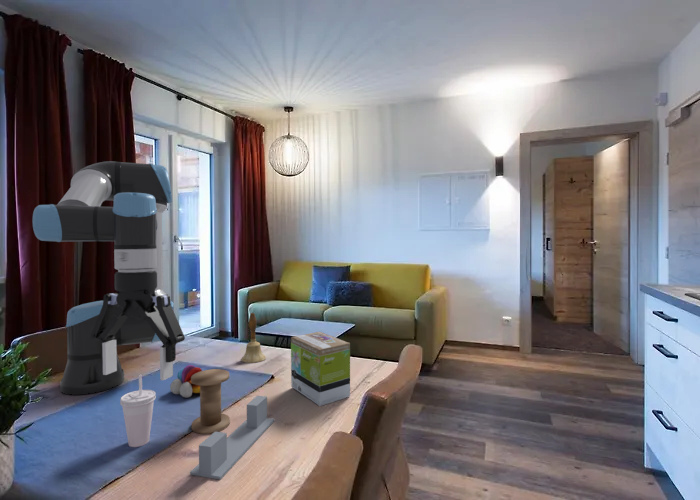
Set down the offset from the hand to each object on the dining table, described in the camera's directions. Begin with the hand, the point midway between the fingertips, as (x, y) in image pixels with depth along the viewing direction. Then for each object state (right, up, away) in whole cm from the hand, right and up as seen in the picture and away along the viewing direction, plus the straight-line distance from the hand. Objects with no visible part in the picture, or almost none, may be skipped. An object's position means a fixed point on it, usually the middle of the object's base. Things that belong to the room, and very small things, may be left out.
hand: (137, 375), depth 79 cm
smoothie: (0, -14, +1) cm, 14 cm away
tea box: (+35, -13, +26) cm, 46 cm away
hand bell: (+10, -12, +55) cm, 57 cm away
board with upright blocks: (+20, -14, 0) cm, 25 cm away
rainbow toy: (0, -13, +27) cm, 30 cm away
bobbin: (+12, -14, +8) cm, 20 cm away
